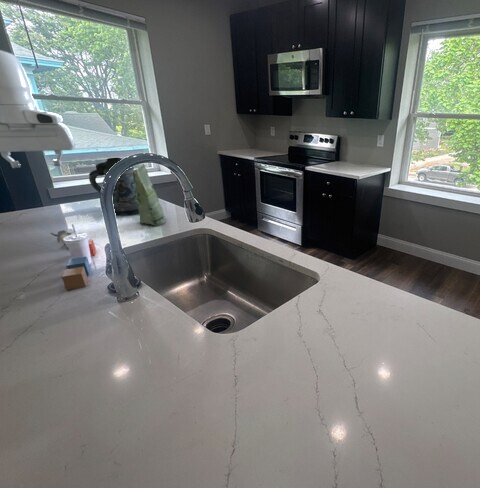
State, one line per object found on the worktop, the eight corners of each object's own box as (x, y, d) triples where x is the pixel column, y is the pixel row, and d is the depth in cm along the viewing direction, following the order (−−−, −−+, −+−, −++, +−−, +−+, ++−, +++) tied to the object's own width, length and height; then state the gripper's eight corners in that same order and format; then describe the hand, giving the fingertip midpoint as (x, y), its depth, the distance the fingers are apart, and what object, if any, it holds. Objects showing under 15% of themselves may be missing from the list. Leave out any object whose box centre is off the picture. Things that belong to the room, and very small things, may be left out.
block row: (66, 290, 85) (61, 277, 83) (80, 252, 106) (76, 241, 104) (86, 286, 87) (81, 273, 85) (96, 250, 108) (92, 239, 106)
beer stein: (156, 208, 150) (145, 157, 139) (118, 220, 134) (103, 164, 123) (134, 203, 156) (122, 154, 145) (95, 214, 140) (78, 159, 129)
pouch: (148, 229, 126) (134, 170, 115) (132, 223, 132) (118, 166, 121) (172, 222, 135) (161, 166, 124) (157, 216, 140) (145, 162, 129)
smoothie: (87, 268, 96) (73, 228, 90) (67, 267, 96) (52, 227, 90) (100, 259, 102) (88, 221, 96) (82, 258, 102) (68, 220, 96)
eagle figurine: (46, 243, 108) (52, 246, 103) (53, 224, 109) (59, 226, 104) (72, 248, 114) (79, 251, 109) (78, 230, 115) (86, 232, 110)
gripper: (-40, 115, 75) (-15, 171, 81) (63, 117, 84) (78, 166, 90) (-29, 114, 80) (-7, 166, 86) (67, 116, 89) (82, 163, 95)
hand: (38, 166), depth 88 cm, fingers open, 8 cm apart
